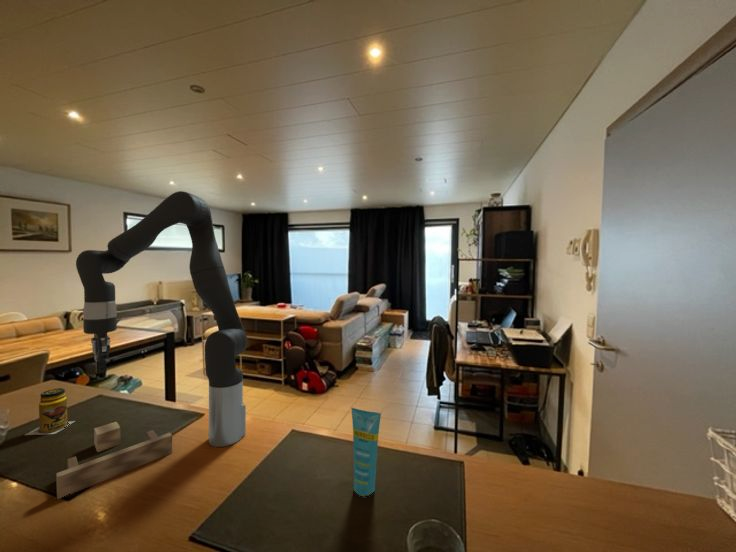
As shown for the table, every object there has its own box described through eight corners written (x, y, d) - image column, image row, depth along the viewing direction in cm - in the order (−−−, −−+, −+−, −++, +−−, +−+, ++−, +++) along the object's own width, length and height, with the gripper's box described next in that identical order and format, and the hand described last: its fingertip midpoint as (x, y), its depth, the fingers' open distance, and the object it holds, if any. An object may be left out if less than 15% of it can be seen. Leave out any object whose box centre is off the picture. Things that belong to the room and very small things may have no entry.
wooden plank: (162, 440, 88) (162, 423, 88) (172, 452, 82) (172, 435, 82) (54, 480, 71) (54, 459, 71) (57, 499, 65) (57, 477, 65)
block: (116, 437, 89) (116, 421, 89) (120, 444, 86) (120, 427, 86) (94, 445, 85) (94, 428, 85) (97, 452, 82) (97, 434, 82)
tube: (346, 493, 68) (347, 411, 68) (353, 479, 73) (354, 402, 72) (377, 501, 66) (378, 417, 66) (382, 486, 71) (384, 407, 70)
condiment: (55, 434, 90) (55, 395, 90) (23, 435, 89) (23, 396, 89) (75, 421, 98) (75, 385, 97) (46, 423, 96) (45, 386, 96)
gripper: (121, 317, 89) (121, 374, 89) (112, 312, 97) (112, 364, 98) (86, 320, 83) (87, 381, 84) (80, 315, 92) (81, 370, 92)
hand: (101, 372), depth 91 cm, fingers closed
